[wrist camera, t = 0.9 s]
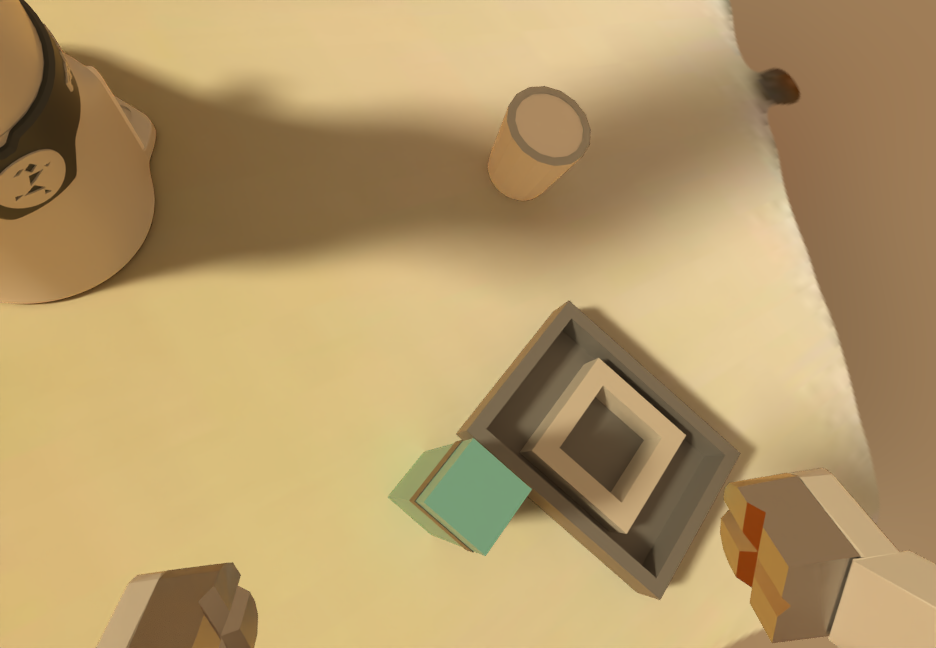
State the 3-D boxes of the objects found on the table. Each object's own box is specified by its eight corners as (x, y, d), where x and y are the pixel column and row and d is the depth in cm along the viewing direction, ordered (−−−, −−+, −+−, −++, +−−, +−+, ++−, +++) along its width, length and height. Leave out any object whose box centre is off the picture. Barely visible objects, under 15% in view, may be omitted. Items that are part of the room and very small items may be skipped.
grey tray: (455, 434, 42) (466, 430, 39) (553, 311, 47) (568, 300, 44) (637, 592, 43) (660, 599, 40) (715, 455, 48) (740, 453, 45)
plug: (386, 497, 40) (422, 502, 28) (424, 450, 41) (473, 436, 29) (430, 535, 40) (485, 557, 28) (466, 487, 41) (533, 489, 29)
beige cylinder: (532, 127, 51) (565, 76, 45) (567, 194, 51) (606, 151, 44) (466, 148, 49) (491, 96, 42) (502, 217, 48) (533, 176, 42)
